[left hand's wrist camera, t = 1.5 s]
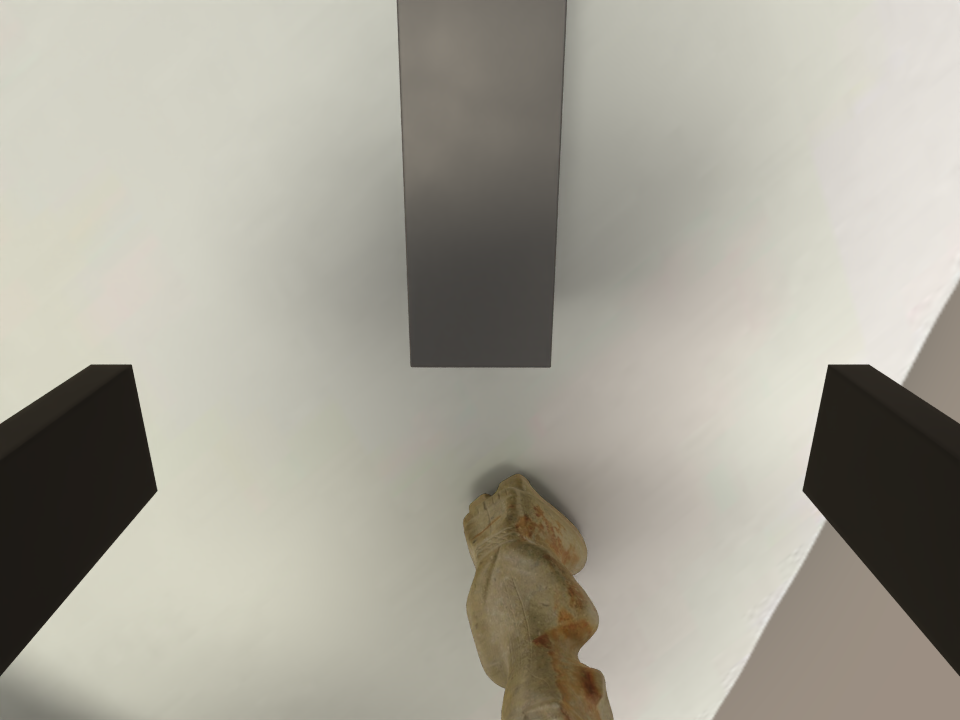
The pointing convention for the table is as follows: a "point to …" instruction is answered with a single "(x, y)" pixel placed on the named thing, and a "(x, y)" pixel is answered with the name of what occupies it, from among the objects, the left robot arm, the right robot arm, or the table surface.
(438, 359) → the bar
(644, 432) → the table surface
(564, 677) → the sculpture
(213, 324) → the table surface
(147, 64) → the table surface
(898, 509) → the left robot arm
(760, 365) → the table surface
